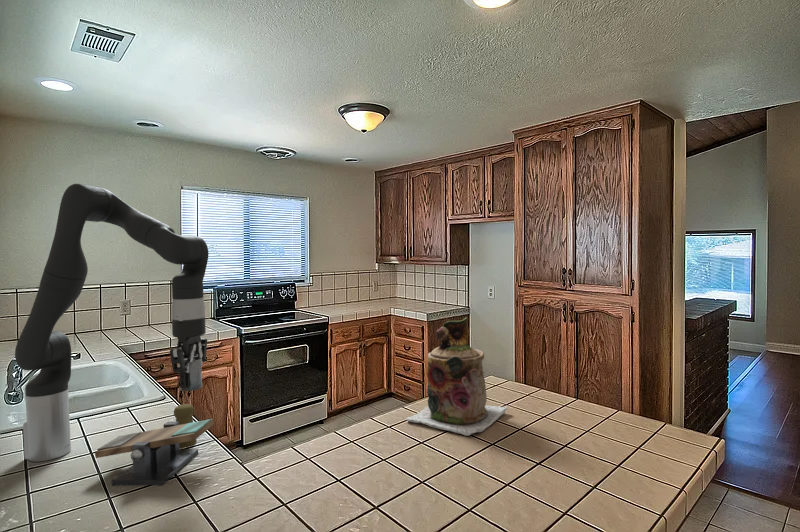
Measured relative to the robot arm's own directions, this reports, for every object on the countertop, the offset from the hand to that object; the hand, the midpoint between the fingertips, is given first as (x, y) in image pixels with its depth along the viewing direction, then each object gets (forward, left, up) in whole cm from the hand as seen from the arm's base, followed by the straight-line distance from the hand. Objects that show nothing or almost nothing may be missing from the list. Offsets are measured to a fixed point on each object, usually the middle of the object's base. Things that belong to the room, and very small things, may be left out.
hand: (190, 384), depth 114 cm
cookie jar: (+68, +34, -21) cm, 79 cm away
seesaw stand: (-9, 0, -21) cm, 23 cm away
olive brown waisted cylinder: (-10, +15, -21) cm, 28 cm away
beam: (-9, 0, -14) cm, 17 cm away
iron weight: (0, 0, -1) cm, 1 cm away
